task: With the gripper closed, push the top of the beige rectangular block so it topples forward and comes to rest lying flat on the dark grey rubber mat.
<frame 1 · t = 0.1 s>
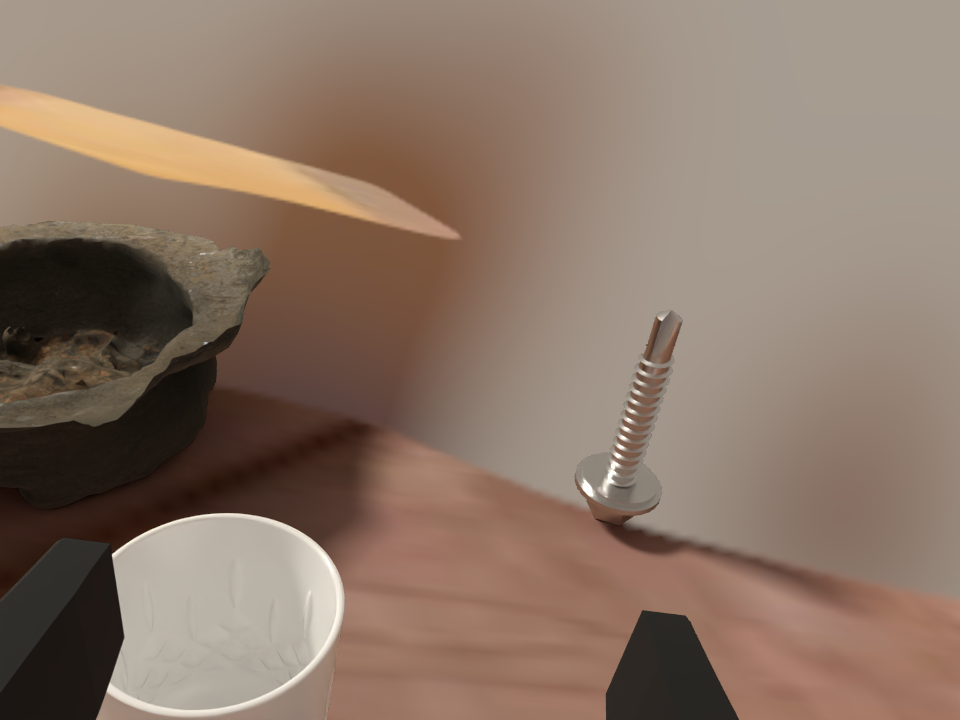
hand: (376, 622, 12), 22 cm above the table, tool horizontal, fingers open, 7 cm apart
stone bowl: (38, 408, 48), on the table
screw: (609, 511, 47), on the table
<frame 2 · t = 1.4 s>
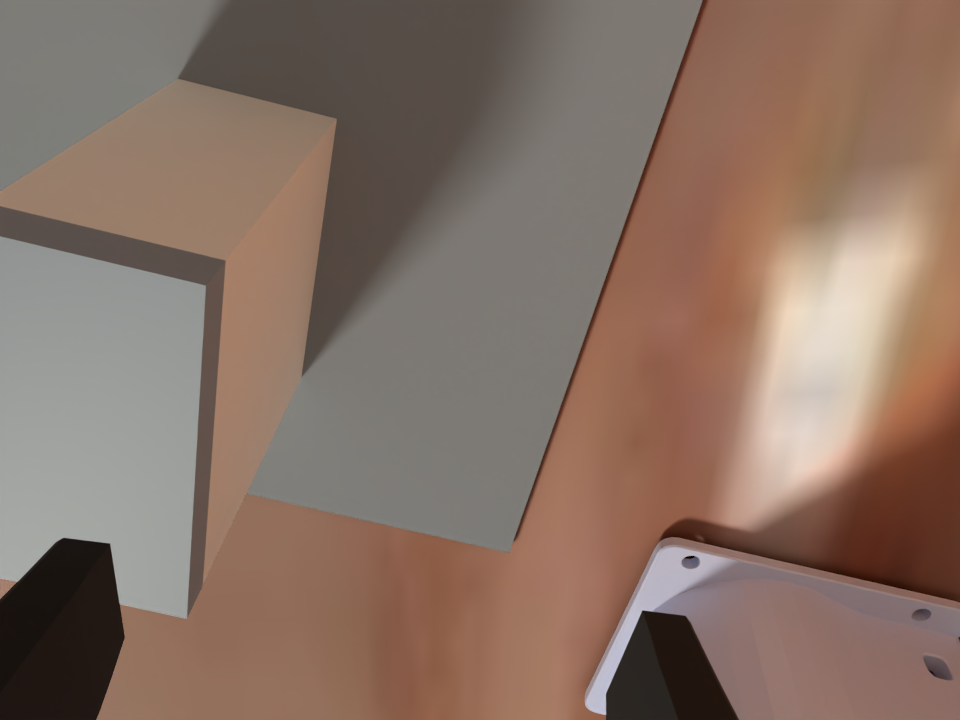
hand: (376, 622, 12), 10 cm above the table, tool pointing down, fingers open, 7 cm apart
beige rectangular block: (245, 242, 20), resting on mat
mat: (188, 222, 20), on the table
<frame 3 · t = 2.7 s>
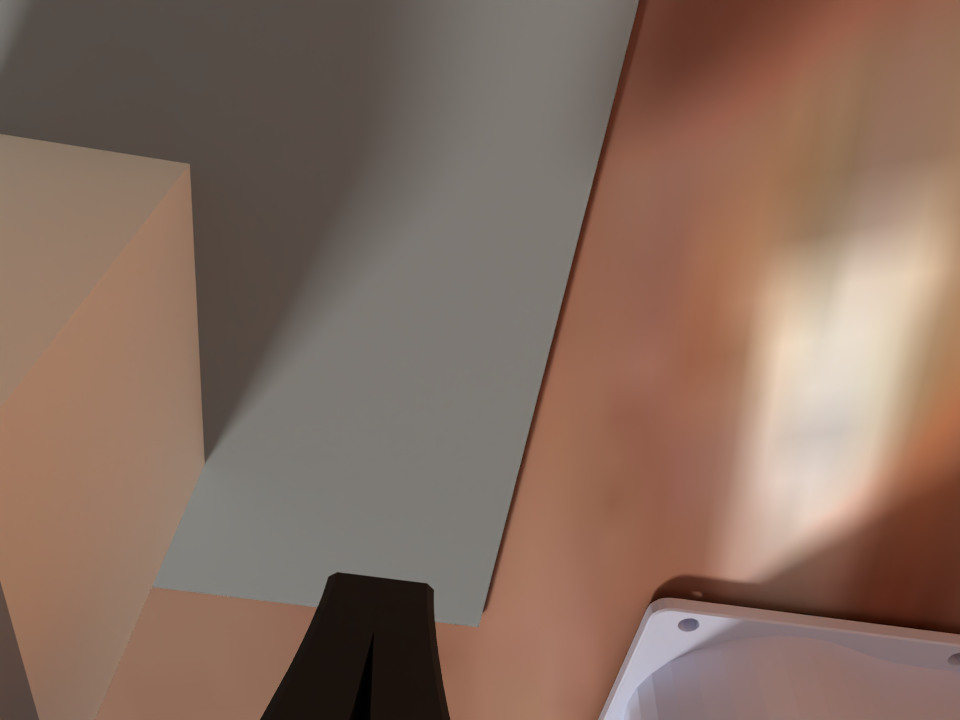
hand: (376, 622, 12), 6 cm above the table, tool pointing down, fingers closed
beige rectangular block: (106, 319, 16), resting on mat
mat: (33, 299, 16), on the table
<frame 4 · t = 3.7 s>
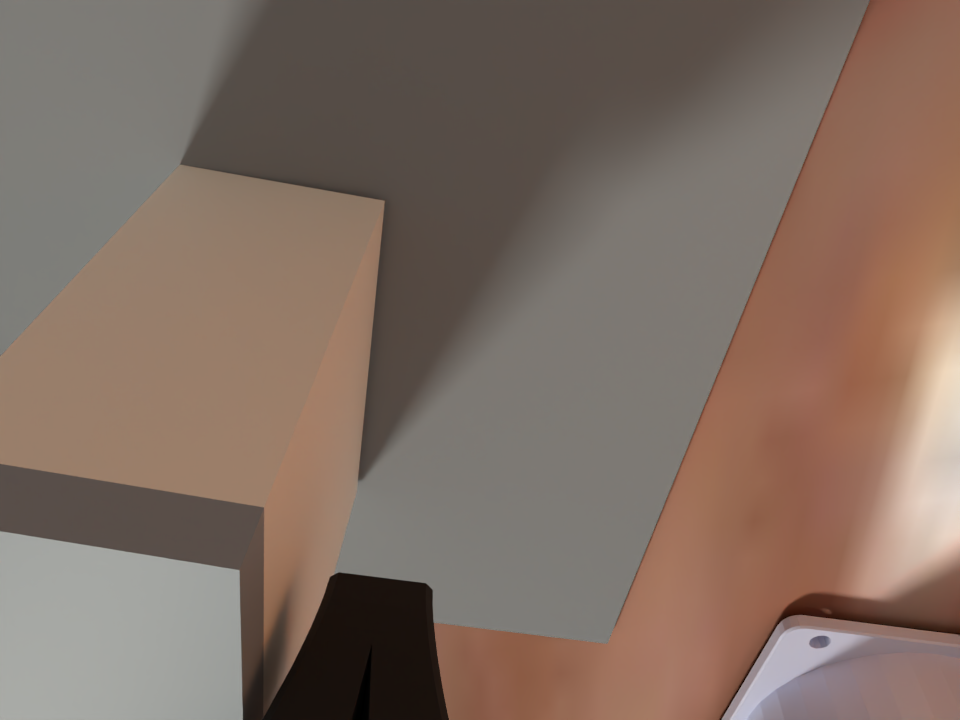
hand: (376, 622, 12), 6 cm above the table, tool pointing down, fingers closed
beige rectangular block: (279, 348, 16), resting on mat, touching gripper
mat: (207, 326, 16), on the table
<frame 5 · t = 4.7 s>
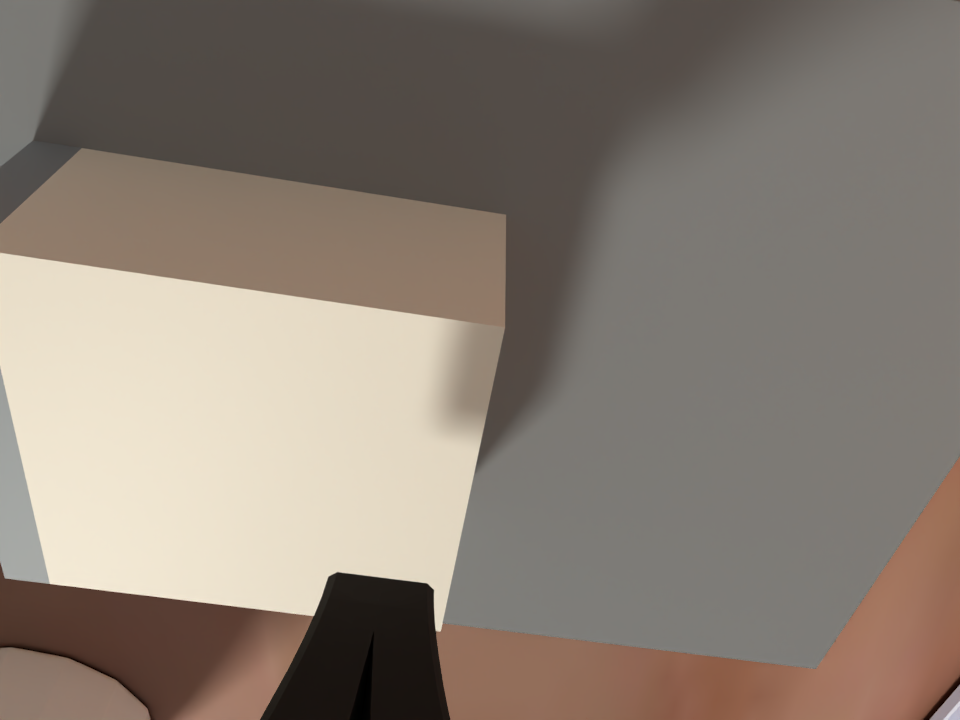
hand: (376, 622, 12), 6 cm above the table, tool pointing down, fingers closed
beige rectangular block: (472, 431, 15), point 2 cm above the table, tilted 90°, touching mat
white cup: (45, 705, 25), on the table
mat: (489, 366, 17), on the table
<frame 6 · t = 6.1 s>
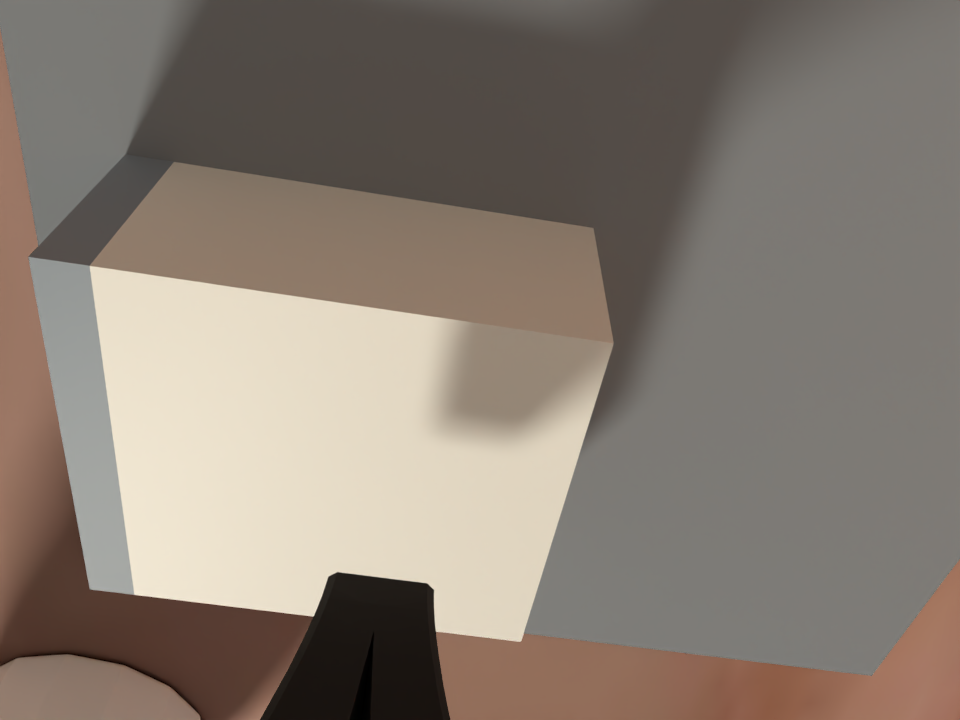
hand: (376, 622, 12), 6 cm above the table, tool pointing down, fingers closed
beige rectangular block: (555, 443, 15), point 2 cm above the table, tilted 90°, touching mat
white cup: (96, 711, 25), on the table
mat: (564, 377, 17), on the table
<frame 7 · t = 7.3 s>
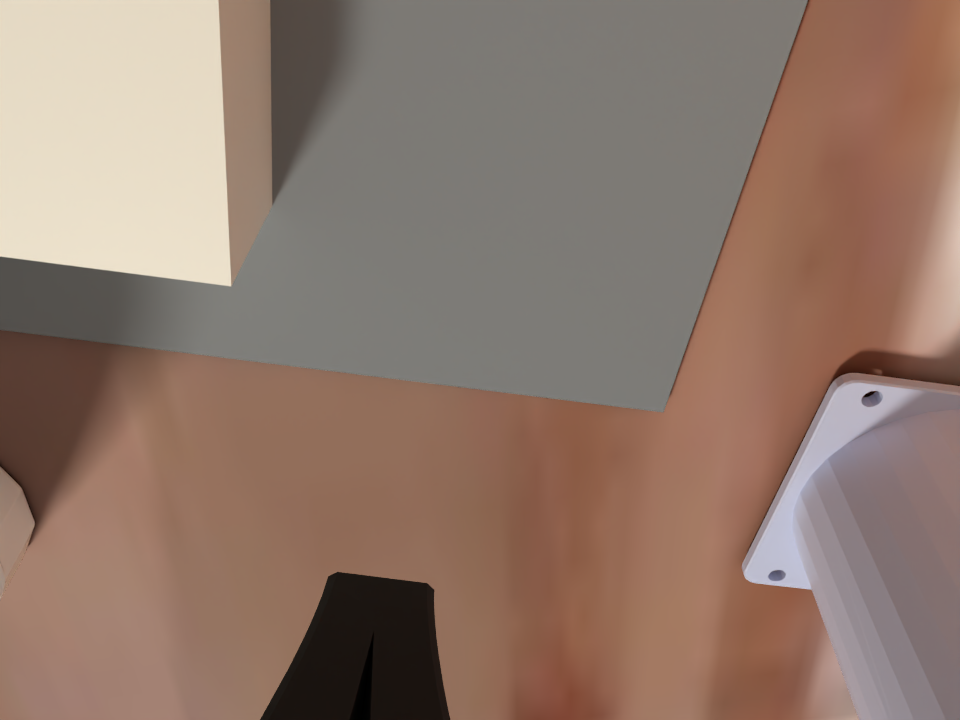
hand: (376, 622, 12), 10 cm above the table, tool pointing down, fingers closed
beige rectangular block: (249, 75, 15), point 2 cm above the table, tilted 90°, touching mat
mat: (287, 45, 17), on the table
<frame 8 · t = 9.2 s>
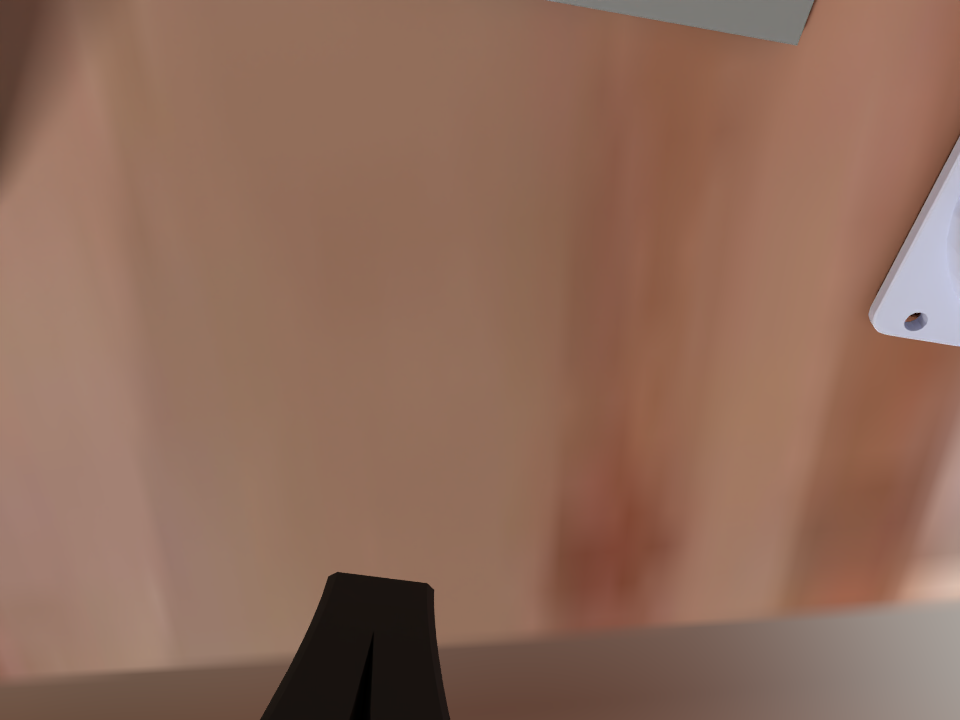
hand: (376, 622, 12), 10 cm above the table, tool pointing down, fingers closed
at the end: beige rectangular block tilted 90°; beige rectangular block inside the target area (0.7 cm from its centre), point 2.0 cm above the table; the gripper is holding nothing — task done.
